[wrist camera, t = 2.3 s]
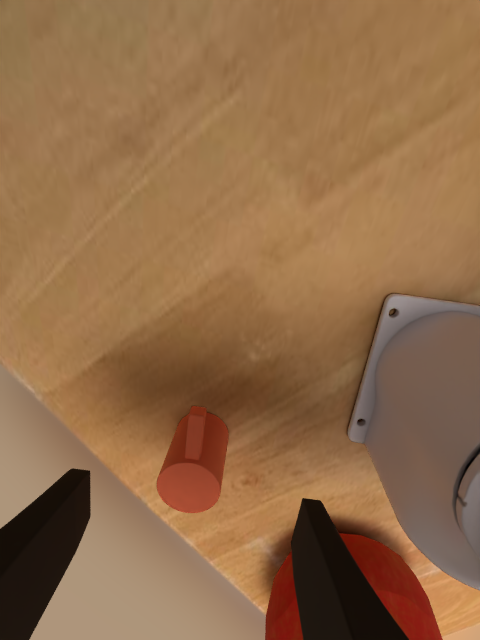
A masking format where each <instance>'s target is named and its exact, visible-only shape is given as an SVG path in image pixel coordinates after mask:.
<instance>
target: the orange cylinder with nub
mask: <svg viewBox="0 0 480 640" xmlns="http://www.w3.org/2000/svg"><path fill="white" fill-rule="evenodd" d="M206 411H207V409H206V408H204V407H197V406H192V407H191V410H190V412H189V414H188V415H187V416H185V417H184V418H183V419H182V420H181V421H180V422H179V424H178V427H177V429H176V432H175V434H174V437H173V440H172V442H171V445H170V448H169V450H168V453H167V455H166V458H165V461H164V463H163V466H162V469H161V471H160V474H159V476H158V479H157V490H158V493H159V495H160V497H161V498H162V500H163V501H164V502H165V503H166V504H167V505H169V506H170V507H172V508H173V509H176V510H178V511H181V512H186V513H198V512H203V511H205V510H208V509H209V508H211V507H212V506H213V505H214V504H215V503H216V502H217V501H218V499H219V496H220V492H221V485H222V478H223V471H224V464H225V457H226V450H227V443H228V430H227V427H226V425H225V424H224V423H223V421H222V420H221V419H220V418H218V417H217V416H215V415H213V414H210V413H207V412H206Z"/></svg>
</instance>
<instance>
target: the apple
mask: <svg viewBox="0 0 480 640" xmlns="http://www.w3.org/2000/svg"><path fill="white" fill-rule="evenodd" d="M339 534H340V533H339ZM340 536H341V538H342V539H343V541H344V543H345V545H346V546H347V548H348V550H349V551H350V553H351V555H352V556H353V558H354V560H355V561H356V563H357V564H358V566H359V568H360V569H361V571H362V573H363V574H364V576H365V577H366V579H367V580H368V582H369V583H370V585H371V586H372V588H373V589H374V591H375V592H376V594H377V595H378V597H379V598H380V600H381V601H382V603H383V604H384V606H385V607H386V608H387V610H388V611H389V613H390V614H391V615H392V617H393V618H394V620H395V621H396V622H397V624H398V625H399V626H400V628H401V629H402V630H403V632H404V633H405V634H406V636H407V637H408V638H409V640H443V639H442V636H441V634H440V631H439V628H438V625H437V622H436V619H435V616H434V614H433V611H432V608H431V605H430V602H429V599H428V597H427V595H426V593H425V591H424V589H423V588H422V586H421V584H420V582H419V581H418V579H417V577H416V575H415V574H414V573H413V572H412V570H411V569H410V568H409V567H408V565H407V564H406V563H405V562H404V560H403V559H402V558H401V556H399V555H398V554H397V553H395V552H394V551H392V550H391V549H389V548H388V547H386V546H385V545H383V544H382V543H380V542H378V541H375V540H372V539H370V538H367V537H364V536H362V535H353V534H340ZM265 634H266V635H265V640H303V635H302V629H301V623H300V617H299V611H298V604H297V598H296V592H295V585H294V579H293V566H292V550H291V552H290V553H289V555H288V556H287V558H286V559H285V561H284V563H283V564H282V566H281V567H280V569H279V571H278V573H277V574H276V576H275V578H274V581H273V586H272V591H271V595H270V600H269V605H268V609H267V614H266V633H265Z"/></svg>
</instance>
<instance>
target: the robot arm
mask: <svg viewBox="0 0 480 640" xmlns="http://www.w3.org/2000/svg"><path fill="white" fill-rule="evenodd" d="M394 308H395V309H396V312H395V314H393V315H390V316H389V311H390V310H391V309H394ZM359 419H363V421H361V422H357V420H359ZM347 434H348V437H349V439H350V440H351V441H353V442H357V443H364V444H365V446H366V448H367V450H368V452H369V455H370V457H371V459H372V462H373V464H374V466H375V469H376V471H377V473H378V475H379V478H380V480H381V482H382V485H383V487H384V489H385V492H386V494H387V496H388V498H389V501H390V503H391V505H392V508H393V510H394V512H395V515H396V517H397V519H398V521H399V523H400V525H401V527H402V529H403V530H404V532H405V533H406V534H407V536H408V537H409V539H410V540H411V541H412V542H413V543H414V545H415V546H416V547H417V548H418V549H419V550H420V551H421V552H422V553H423V554H424V555H425V556H426V557H427V558H428V559H429V560H430V561H431V562H432V563H433V564H435V565H436V566H437V567H438V568H440V569H441V570H442V571H444V572H445V573H447V574H448V575H450V576H451V577H453V578H455V579H456V580H458V581H460V582H462V583H464V584H466V585H468V586H470V587H473V588H475V589H477V590H480V305H474V304H467V303H460V302H453V301H446V300H439V299H432V298H425V297H418V296H411V295H404V294H391V295H389V296H388V297H387V298H386V299H385V301H384V305H383V309H382V312H381V316H380V319H379V323H378V326H377V330H376V333H375V337H374V340H373V344H372V347H371V351H370V354H369V358H368V361H367V365H366V368H365V372H364V375H363V379H362V382H361V386H360V389H359V393H358V396H357V400H356V403H355V407H354V410H353V414H352V417H351V421H350V424H349V428H348V432H347ZM89 519H90V471H88V470H80V469H70V470H69V471H68V472H67V473H66V474H64V475H63V476H62V477H61V478H60V479H59V480H58V481H57V482H55V483H54V484H53V485H52V486H51V487H50V488H49V489H47V490H46V491H45V492H44V493H43V494H42V495H41V496H39V497H38V498H37V499H36V500H35V501H34V502H32V503H31V504H30V505H29V506H28V507H26V508H25V509H24V510H23V511H22V512H20V513H19V514H18V515H17V516H16V517H15V518H13V519H12V520H11V521H10V522H8V523H7V524H6V525H5V526H4V527H2V528H1V529H0V640H29V639H30V637H31V635H32V633H33V631H34V629H35V628H36V626H37V624H38V622H39V620H40V618H41V616H42V614H43V613H44V611H45V609H46V607H47V605H48V603H49V601H50V600H51V598H52V596H53V594H54V592H55V590H56V588H57V586H58V585H59V583H60V581H61V579H62V577H63V575H64V573H65V571H66V570H67V568H68V566H69V564H70V562H71V560H72V558H73V556H74V554H75V552H76V550H77V548H78V546H79V543H80V541H81V539H82V536H83V534H84V531H85V529H86V526H87V524H88V521H89ZM291 550H292V566H293V579H294V585H295V592H296V598H297V604H298V611H299V617H300V623H301V629H302V635H303V640H409V638H408V637H407V636H406V634H405V633H404V632H403V630H402V629H401V628H400V626H399V625H398V624H397V622H396V621H395V620H394V618H393V617H392V615H391V614H390V613H389V611H388V610H387V608H386V607H385V606H384V604H383V603H382V601H381V600H380V598H379V597H378V595H377V594H376V592H375V591H374V589H373V588H372V586H371V585H370V583H369V582H368V580H367V579H366V577H365V576H364V574H363V573H362V571H361V569H360V568H359V566H358V564H357V563H356V561H355V560H354V558H353V556H352V555H351V553H350V551H349V550H348V548H347V546H346V545H345V543H344V541H343V539H342V538H341V536H340V534H339V532H338V531H337V529H336V527H335V525H334V524H333V522H332V520H331V518H330V516H329V514H328V513H327V511H326V509H325V507H324V505H323V503H322V502H321V501H320V500H313V499H305V498H303V499H302V502H301V506H300V510H299V514H298V518H297V521H296V525H295V529H294V533H293V537H292V540H291Z"/></svg>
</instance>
